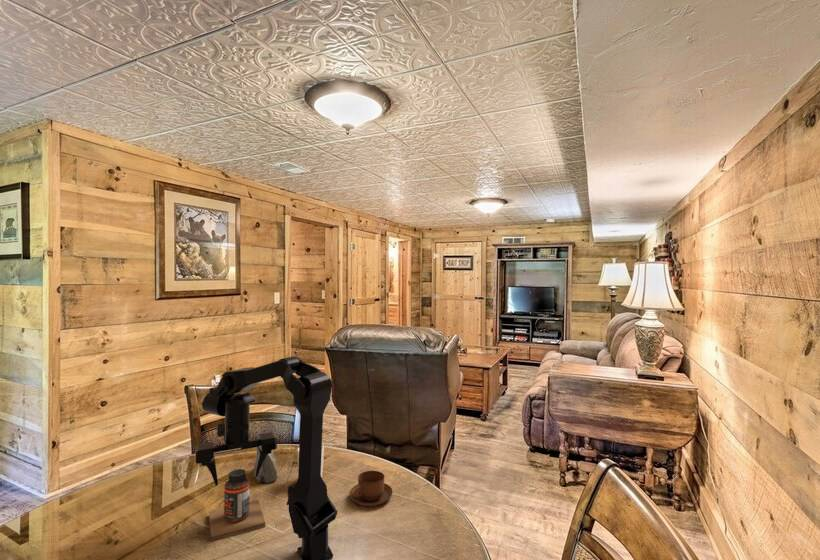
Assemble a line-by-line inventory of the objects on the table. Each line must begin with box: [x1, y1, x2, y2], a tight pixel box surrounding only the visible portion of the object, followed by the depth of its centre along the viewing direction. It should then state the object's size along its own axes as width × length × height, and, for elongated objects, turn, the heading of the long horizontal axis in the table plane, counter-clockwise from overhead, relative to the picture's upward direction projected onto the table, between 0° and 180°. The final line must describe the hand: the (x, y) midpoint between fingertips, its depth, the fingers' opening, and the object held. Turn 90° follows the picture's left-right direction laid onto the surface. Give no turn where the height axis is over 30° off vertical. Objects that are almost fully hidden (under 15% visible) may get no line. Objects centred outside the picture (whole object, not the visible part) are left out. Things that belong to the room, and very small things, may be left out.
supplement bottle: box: [223, 468, 251, 523], centre depth 102 cm, size 6×6×11 cm
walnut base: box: [208, 499, 266, 542], centre depth 102 cm, size 12×12×1 cm
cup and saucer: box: [349, 470, 393, 507], centre depth 113 cm, size 12×12×6 cm
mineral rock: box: [252, 450, 279, 484], centre depth 128 cm, size 13×11×10 cm
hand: (236, 480), depth 102 cm, fingers open, 9 cm apart
